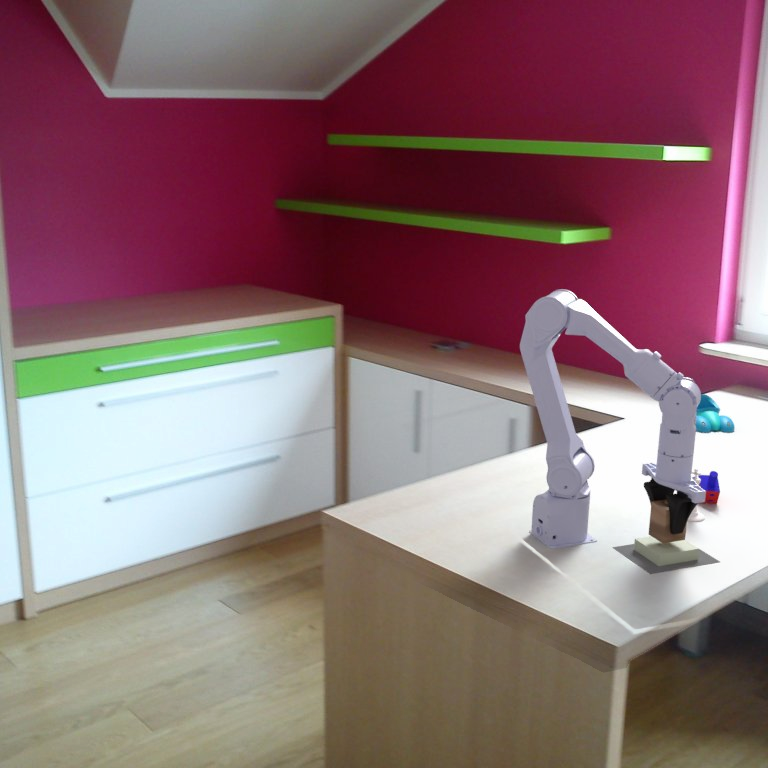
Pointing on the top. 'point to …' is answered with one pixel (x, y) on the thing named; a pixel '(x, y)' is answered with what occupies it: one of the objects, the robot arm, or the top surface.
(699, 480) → the chess piece
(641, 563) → the build mat
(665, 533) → the walnut snap block
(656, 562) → the base block
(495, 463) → the top surface
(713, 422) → the toy car
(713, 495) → the toy building block
